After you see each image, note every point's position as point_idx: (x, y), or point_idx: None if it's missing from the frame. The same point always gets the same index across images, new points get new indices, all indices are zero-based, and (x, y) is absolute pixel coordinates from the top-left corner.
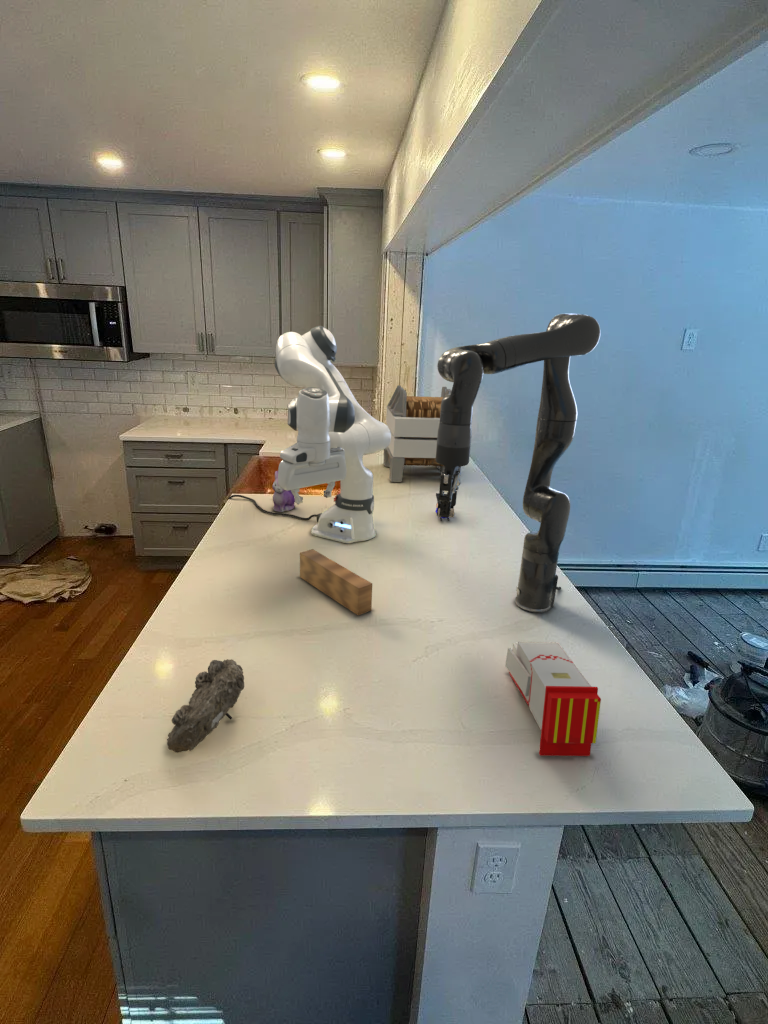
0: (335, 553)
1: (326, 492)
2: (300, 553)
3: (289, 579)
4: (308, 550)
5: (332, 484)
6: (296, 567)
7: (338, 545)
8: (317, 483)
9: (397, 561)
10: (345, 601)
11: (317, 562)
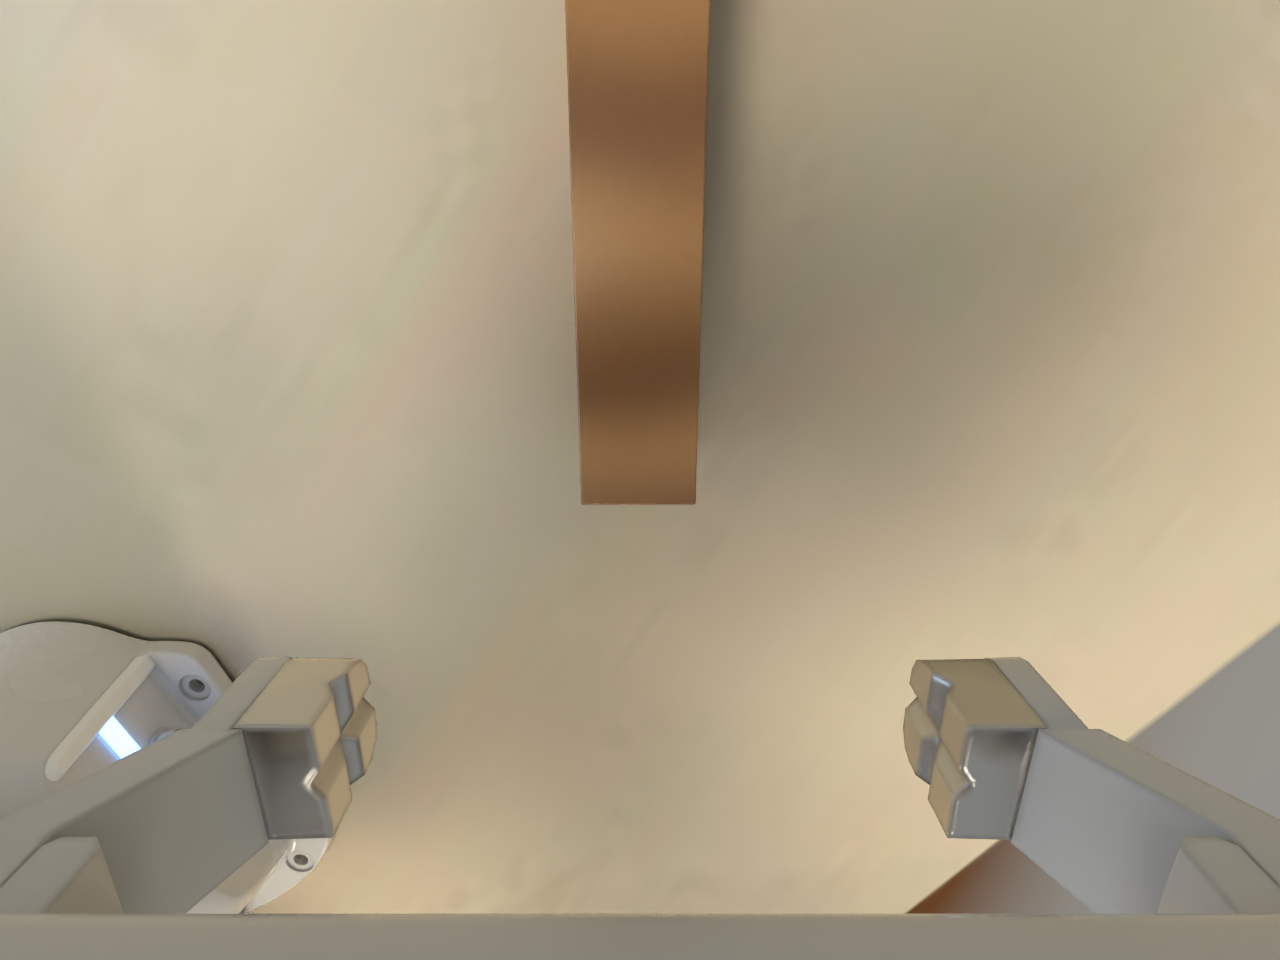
0: (336, 582)
1: (321, 744)
2: (695, 494)
3: (745, 457)
4: (623, 498)
5: (39, 858)
6: (627, 557)
7: (265, 656)
8: (627, 951)
9: (14, 267)
10: None
11: (693, 281)
